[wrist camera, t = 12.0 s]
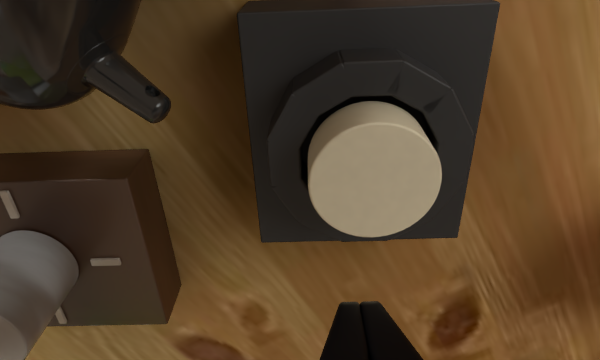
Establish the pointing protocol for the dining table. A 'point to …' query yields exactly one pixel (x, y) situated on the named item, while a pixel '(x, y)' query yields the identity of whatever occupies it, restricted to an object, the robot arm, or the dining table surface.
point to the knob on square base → (360, 94)
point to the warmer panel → (97, 230)
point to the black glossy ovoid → (72, 56)
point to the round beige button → (372, 170)
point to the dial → (31, 288)
